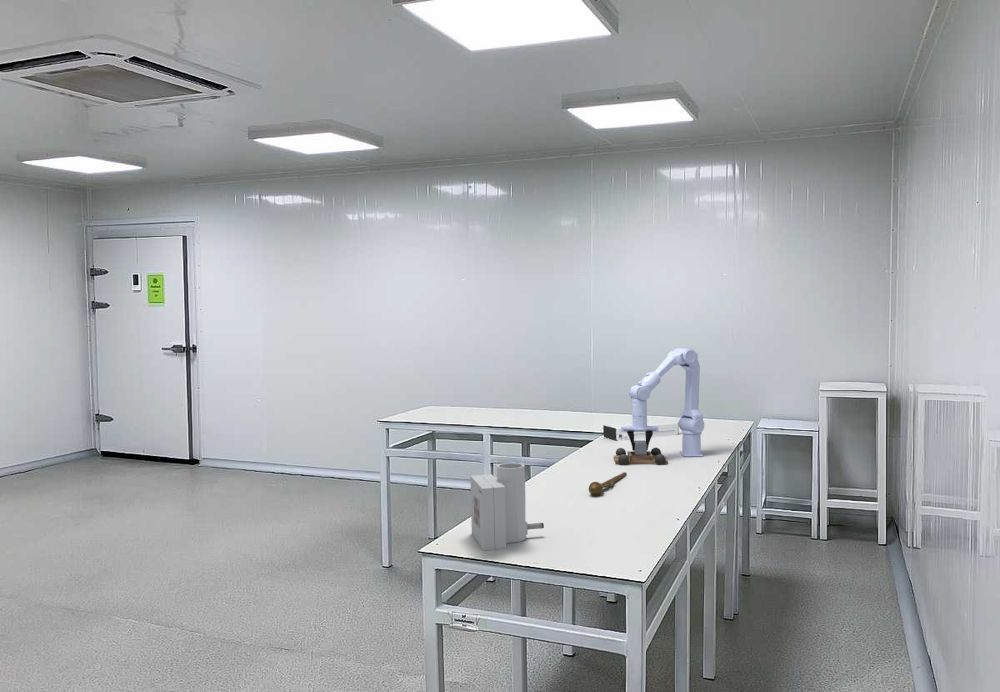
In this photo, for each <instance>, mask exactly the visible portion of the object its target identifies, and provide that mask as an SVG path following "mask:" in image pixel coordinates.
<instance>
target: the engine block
mask: <svg viewBox="0 0 1000 692" xmlns="http://www.w3.org/2000/svg"><path fill="white" fill-rule="evenodd" d="M634 447H635V450H634V456H647V451H648V450H647V443H646V439H642V440H634Z"/></svg>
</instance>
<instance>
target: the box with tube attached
mask: <svg viewBox="0 0 1000 692" xmlns="http://www.w3.org/2000/svg"><path fill="white" fill-rule="evenodd" d="M525 466H526V465H525V464H523V463H521V462H520V463H518V462H504V463H500V464H497V466H496V474H497V476H494V475H493V474H477V475H470V478H469V479H470V514H471V515H470V516H471V517H470V518H471V535H472V536H473V538H475V540H476V541H477V543H478V544H479V546H480V548H482V550H483V551H494V550H503V549H504V550H505V549H507V544H512V543H519V542H522V541H525V540H526V539H527V536H528V530H537V529H538V530H540V529H541V530H542V529H544V527H545V526H544V525H545V524H544V522H533V523H528V522H527V521H526V473H525V472H526V471H525V469H526V468H525Z"/></svg>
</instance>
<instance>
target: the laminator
mask: <svg viewBox="0 0 1000 692" xmlns="http://www.w3.org/2000/svg"><path fill="white" fill-rule="evenodd" d="M602 426H603V428H602V429H603V432H602V433H603V435H602V436H603V437H604V438H605V437H606V439H608V438H609V439H610V440H613V441H616V442H621V441H630V438H629V436H628V434H627V432H621V427H627V426H632V422H628V423H627V422H626V423H613V424H605V425H602ZM647 426H658V427H659V432H653V435H652V437H651V439H652V438H661V437H671V436H678V435H679V429H680V428H679V421H678V422H677V421H673V420H667V419H661V420H660V419H659V420H647ZM639 439H640V440H641V439H642V440H644V439H646V436H645V432H634V440H639Z"/></svg>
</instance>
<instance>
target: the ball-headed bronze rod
mask: <svg viewBox="0 0 1000 692" xmlns="http://www.w3.org/2000/svg"><path fill="white" fill-rule="evenodd" d="M626 476H628V474H627V472H626V471H623V472H622V473H619V474H618V475H616V476H613V477H611V478H610V479H608V480H605V481H604V482H601V483H600V482H599V481H593V482H591V483H590V484H589V485H588V492H589V494H590V495H592V496H595V497H599V496H601V495H602V493H603V489H604V488H608V487H609V488H610V487H611V486H612V485H614V483H615V482H618V481H619V480H621V479H624V478H625V477H626Z"/></svg>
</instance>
